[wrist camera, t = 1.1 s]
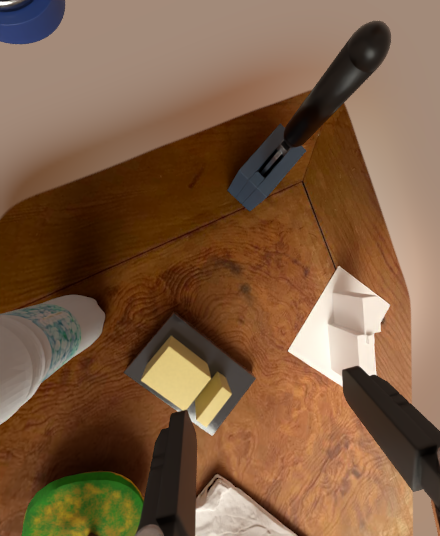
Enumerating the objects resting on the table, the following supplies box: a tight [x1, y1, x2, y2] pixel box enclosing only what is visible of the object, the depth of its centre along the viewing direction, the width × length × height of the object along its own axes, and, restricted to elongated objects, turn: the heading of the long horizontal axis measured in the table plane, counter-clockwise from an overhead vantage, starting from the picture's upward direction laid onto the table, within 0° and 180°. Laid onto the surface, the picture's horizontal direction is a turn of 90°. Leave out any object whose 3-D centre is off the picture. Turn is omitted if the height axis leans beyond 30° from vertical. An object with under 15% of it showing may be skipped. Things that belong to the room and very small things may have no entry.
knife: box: [260, 21, 391, 176], centre depth 20 cm, size 2×4×19 cm, turn 140°
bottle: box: [0, 295, 105, 424], centre depth 15 cm, size 7×7×20 cm
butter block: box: [141, 336, 211, 410], centre depth 24 cm, size 6×4×4 cm
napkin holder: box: [288, 266, 390, 387], centre depth 28 cm, size 15×11×6 cm
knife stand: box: [228, 124, 306, 211], centre depth 26 cm, size 4×7×6 cm, turn 140°
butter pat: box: [195, 372, 232, 427], centre depth 25 cm, size 2×4×4 cm, turn 139°
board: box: [124, 311, 256, 436], centre depth 27 cm, size 14×9×2 cm, turn 49°
